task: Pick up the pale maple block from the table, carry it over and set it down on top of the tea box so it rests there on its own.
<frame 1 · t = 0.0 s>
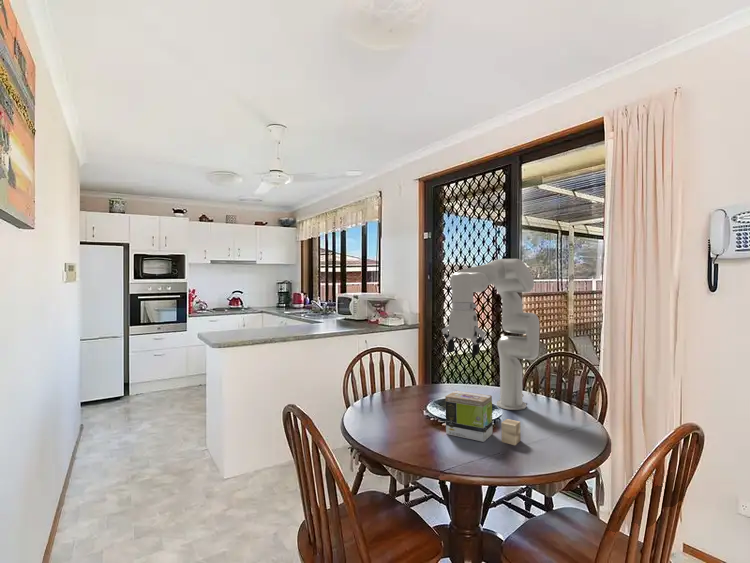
hand: (463, 353, 155), 31 cm above the table, fingers open, 9 cm apart
tea box: (469, 434, 159), on the table
maple block: (511, 441, 152), on the table
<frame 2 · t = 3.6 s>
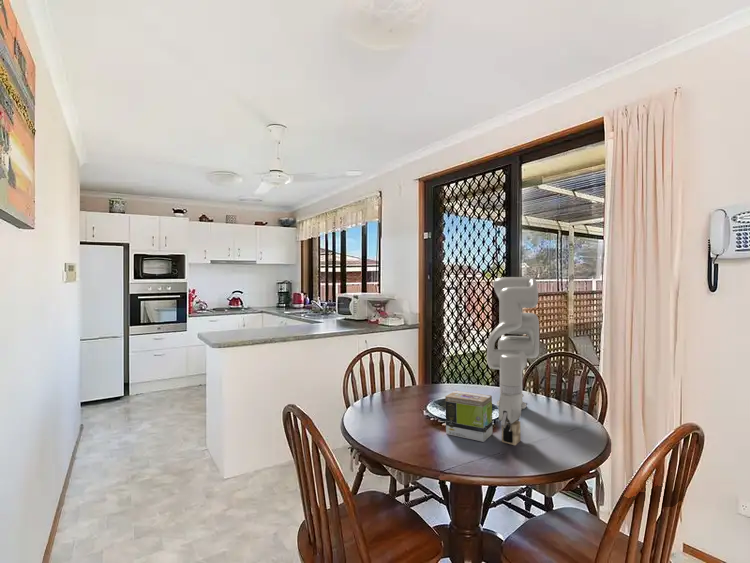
hand: (511, 438, 152), 1 cm above the table, fingers closed on maple block, 5 cm apart
maple block: (511, 441, 152), on the table, touching gripper
everything else where it was.
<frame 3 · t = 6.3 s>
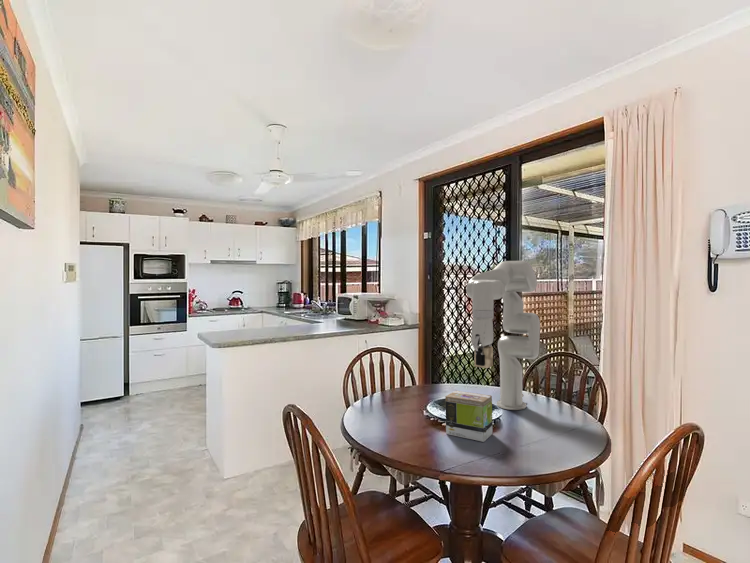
hand: (483, 363, 156), 27 cm above the table, fingers closed on maple block, 5 cm apart
maple block: (483, 366, 156), point 26 cm above the table, touching gripper
everything else where it was.
when the fingers open (17 cm above the table, at t = 9.3 s): maple block drops 2 cm, resting on tea box.
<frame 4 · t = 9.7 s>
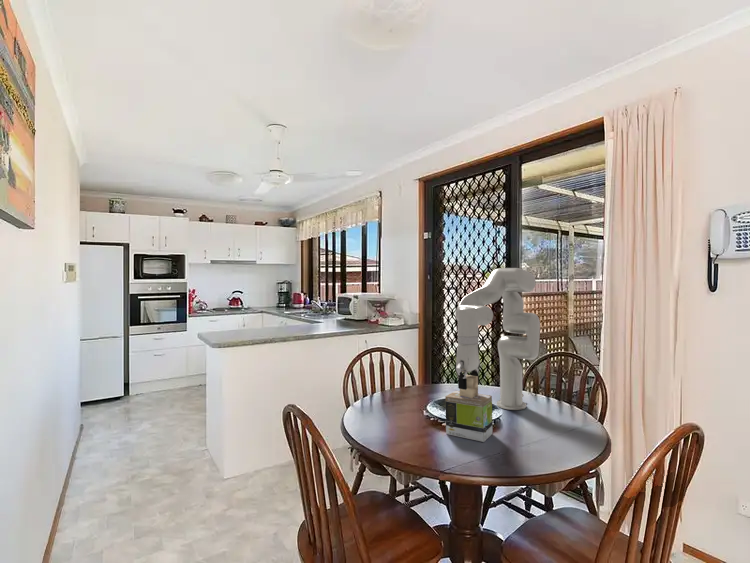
hand: (468, 386, 159), 18 cm above the table, fingers open, 9 cm apart
tea box: (469, 434, 159), on the table, touching maple block
maple block: (468, 395, 159), point 15 cm above the table, touching tea box
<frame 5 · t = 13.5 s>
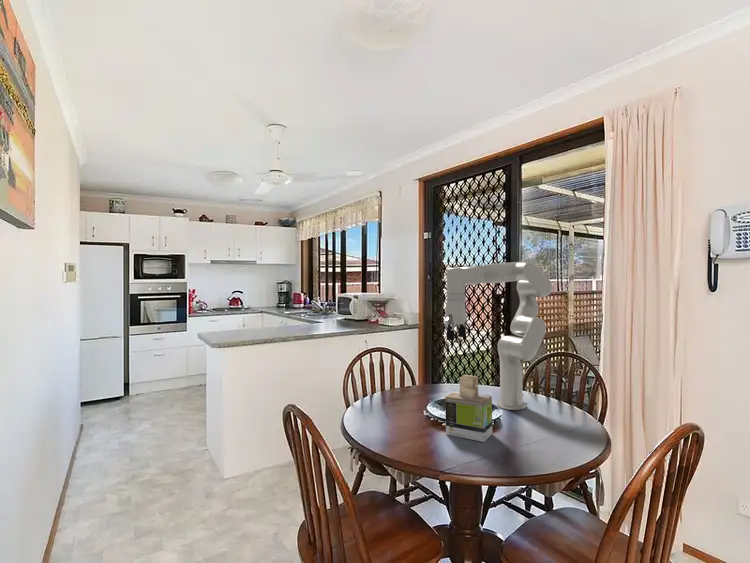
hand: (456, 338, 176), 33 cm above the table, fingers open, 9 cm apart
nothing on the table moved.
at the end: maple block 0.2 cm from the tea box (horizontally); maple block point 14.7 cm above the table; the gripper is holding nothing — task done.
